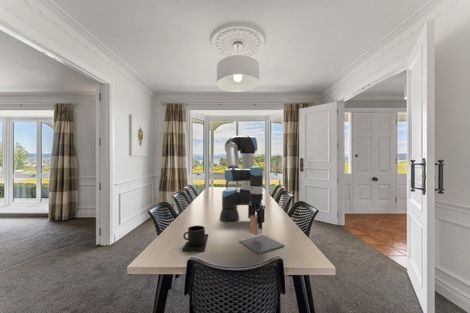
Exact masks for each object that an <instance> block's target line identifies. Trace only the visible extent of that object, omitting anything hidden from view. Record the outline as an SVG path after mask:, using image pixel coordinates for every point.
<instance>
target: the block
mask: <svg viewBox="0 0 470 313" xmlns="http://www.w3.org/2000/svg"><path fill="white" fill-rule="evenodd" d="M257 222H258V219H257V213H255V215H251V216H250V218H249V233H250V234H252V235H254V236H258V235H257ZM260 235H263V228H262V229H261V234H260Z"/></svg>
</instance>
